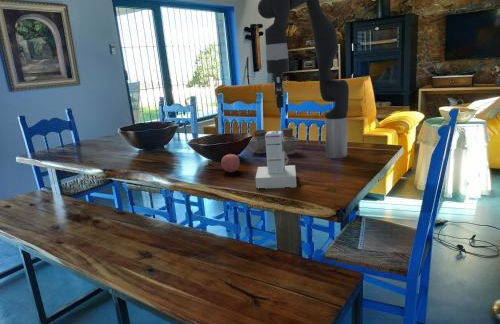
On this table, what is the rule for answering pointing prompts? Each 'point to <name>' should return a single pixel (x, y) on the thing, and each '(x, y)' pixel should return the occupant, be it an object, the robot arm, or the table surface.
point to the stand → (276, 178)
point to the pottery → (288, 141)
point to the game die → (286, 158)
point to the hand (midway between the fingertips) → (280, 105)
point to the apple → (230, 162)
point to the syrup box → (275, 152)
